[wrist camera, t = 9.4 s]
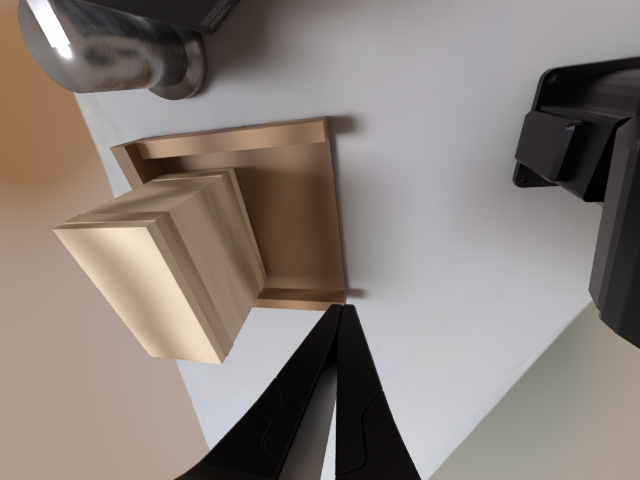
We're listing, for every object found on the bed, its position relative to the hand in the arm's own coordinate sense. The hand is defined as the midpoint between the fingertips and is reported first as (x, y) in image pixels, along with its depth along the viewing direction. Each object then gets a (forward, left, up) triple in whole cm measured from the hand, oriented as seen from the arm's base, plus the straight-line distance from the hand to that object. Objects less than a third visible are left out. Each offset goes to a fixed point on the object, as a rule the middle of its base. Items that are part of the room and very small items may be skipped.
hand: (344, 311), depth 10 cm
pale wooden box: (+12, +3, -12) cm, 18 cm away
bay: (+9, +3, -12) cm, 16 cm away
